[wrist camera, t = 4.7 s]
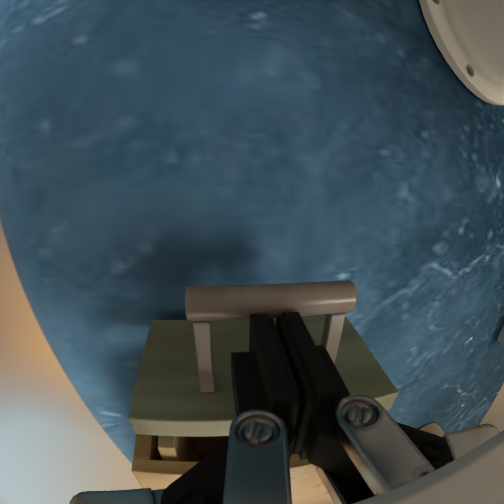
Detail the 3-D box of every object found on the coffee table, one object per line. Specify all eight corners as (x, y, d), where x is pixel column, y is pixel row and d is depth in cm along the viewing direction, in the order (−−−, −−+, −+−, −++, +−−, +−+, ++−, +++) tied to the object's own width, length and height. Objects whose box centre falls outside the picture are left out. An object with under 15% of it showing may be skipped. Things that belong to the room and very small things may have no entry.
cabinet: (152, 351, 18) (130, 471, 10) (337, 342, 20) (395, 442, 11) (181, 459, 23) (181, 538, 15) (307, 450, 25) (330, 523, 16)
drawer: (142, 239, 15) (93, 316, 8) (354, 236, 16) (435, 298, 9) (180, 445, 21) (179, 517, 14) (310, 436, 22) (333, 502, 16)
